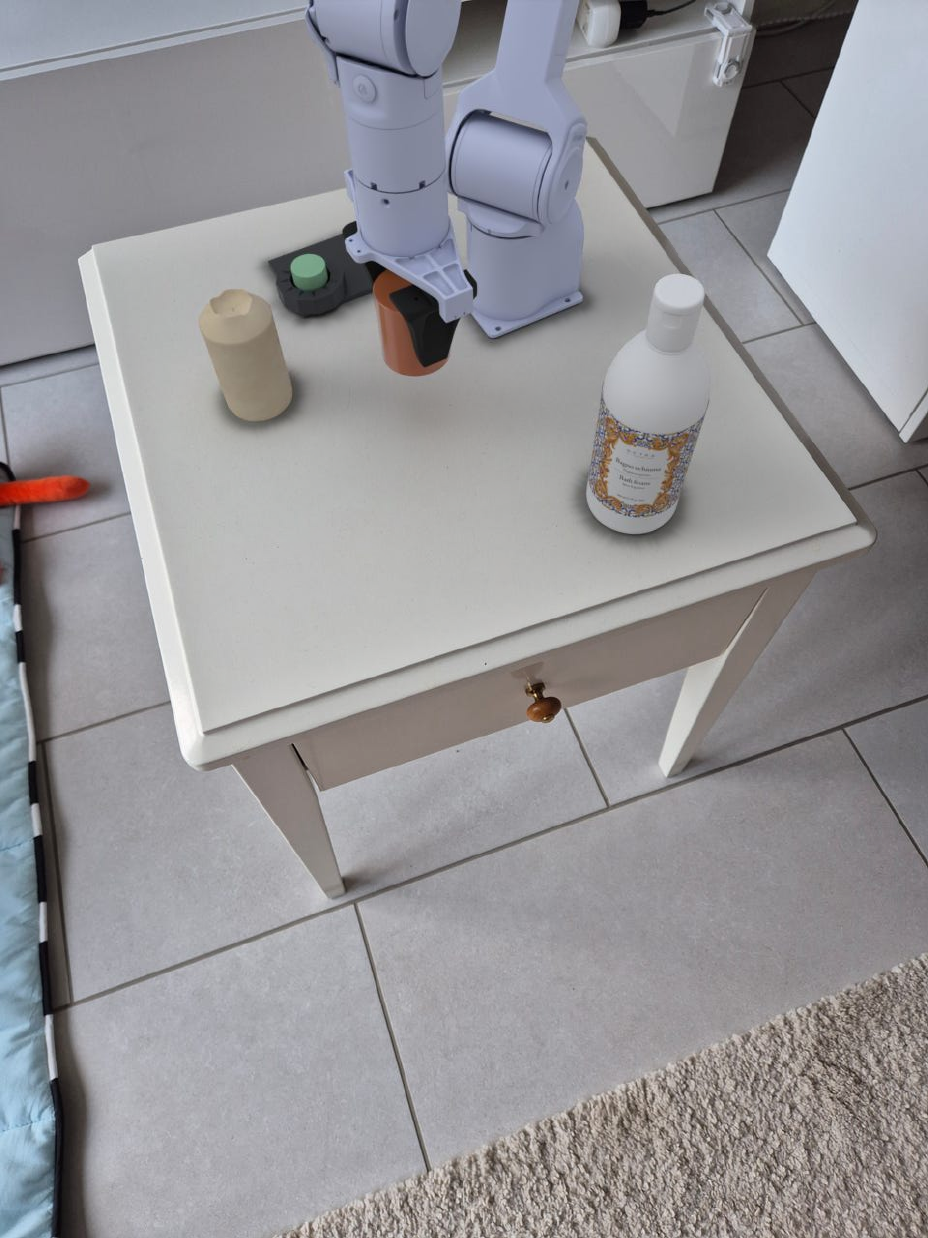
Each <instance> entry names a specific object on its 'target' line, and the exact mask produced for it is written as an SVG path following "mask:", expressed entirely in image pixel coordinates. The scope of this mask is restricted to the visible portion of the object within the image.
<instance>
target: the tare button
mask: <svg viewBox="0 0 928 1238" xmlns="http://www.w3.org/2000/svg"><path fill="white" fill-rule="evenodd" d="M291 273H292V277H293V281H294V284H295V286H296V287H297V288H298V289H300V290H302V291H314V290H316V289H319V288H322V287H323V286H324V285H325V284H326V283H327V280H328V277H327V271H326V266H325V262H324V260H323V259H322V258H321V257H320V256H318V255H314V254H305V255H301V256H299V257H297V258H295V259H294V260H293V262H292V263H291Z"/></svg>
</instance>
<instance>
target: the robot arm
mask: <svg viewBox="0 0 928 1238" xmlns="http://www.w3.org/2000/svg"><path fill="white" fill-rule="evenodd" d="M580 1H581V0H507V3H506V8H505V13H504V17H503V24H502V28H501V35H500V39H499V45H498V49H497V54H496V60H495V65H494V68H493V69H492V70H491V71H489V72H487V73H485V74H484V75H482V76H480V77H479V78H477V79H476V80H474V81H472V82H470V83H469V84H468V85H466V86H465V87H464V88H463V89H461V90H460V91H459V96H458V98H457V100H456V101H457V102H456V106H455V109H454V113H453V117H452V120H451V123H450V126H449V127H448V130H447V132H446V130H445V110H444V108H445V106H444V85H443V82H444V81H443V63H444V62H445V60H446V58H447V55H448V54H449V52H450V51H451V50H452V48H453V45H454V42H455V39H456V35H457V31H458V26H459V21H460V15H461V10H462V2H463V0H307V5H306V8H305V10H304V13H303V14H304V21H305V24H306V27H307V31H308V33H309V36H310V38H311V39H312V41H313V43H314V45H315V46H316V47H317V48H318V49H320V51H321V52H322V53H323V55H324V57H325V61H326V66H327V73H328V79H329V80H330V81H332V83H333V84H334V85H336V87H337V88H339V89H340V95H341V102H342V103H341V104H342V108H343V110H342V111H343V115H344V116H343V117H344V122H345V129H346V137H347V144H348V151H349V158H350V164H351V168H349V169H345V170H344V171H343V176H344V183H345V189H346V190H345V191H346V196H347V198H348V199H349V200H350V201H351V203H353V208H354V214H355V216H354V217H355V220H353V221H351V222H348V223H347V224H346V225H344V227H343V228H342V231H341V234H343V237H344V238H345V244H346V249H347V252H348V253H349V254H350V256H351V257H352V258H353V260H354V261H355V262H357V263H362V264H363V266H364V268H365V270H366V273H367V275H368V277H369V280H370V282H371V285H372V287H374V283H375V281H376V279H377V277H378V276H379V275H380V274H381V273H382V272H383V271H385V270H386V269H389V270H390V271H392V272H394V273H395V274H397V275H399V276H401V277H402V278H404V279H406V280H407V281H409V282H411V283H412V285H410V286H407V287H405V288H402V289H400V290H397V291H395V292H392V293H390V294H389V298H390V300H391V301H392V303H393V304H394V305H395V307H396V308H397V309H398V311H399V312H400V313H401V315H402V316H403V317H404V319H405V321H406V324H407V326H408V329H409V332H410V335H411V339H412V343H413V347H414V351H415V354H416V356H417V358H418V360H419V362H420V363H421V365H422V366H423V367H428V366H430V365H432V364H435V363H437V362H439V361H442V360H444V359H447V357H448V354H449V351H450V348H451V349H452V344H453V340H454V337H455V333H456V330H457V328H458V325H459V322H460V320H461V319H462V318H464V317H465V316H467V315H471V317H473V319H474V320H475V321H476V323H477V324H478V325H479V327H480V328H481V329H482V330H483V331H484V333H485V334H486V336H487V337H489V338H491V339H495V338H498V337H501V336H503V335H506V334H507V333H510V332H513V331H516V330H517V329H520V328H522V327H525V326H527V325H530V324H532V323H534V322H535V323H536V322H537V321H539V320H542V319H544V318H547V317H549V316H551V315H554V314H556V313H559V312H561V311H564V310H566V309H568V308H571V307H573V306H576V305H578V304H580V303H582V302H583V299H584V295H583V294H582V293H581V292H580V291H579V287H580V277H581V269H582V260H583V250H584V242H585V227H584V219H583V216H582V211H581V208H580V206H579V204H578V201H577V200H576V196H577V192H578V190H579V186H580V183H581V179H582V173H583V168H584V167H583V165H584V149H585V145H586V139H587V134H588V128H587V127H588V120H587V118H586V116H585V114H584V113H583V111H582V110H581V108H580V106H579V105H578V104H577V102H576V101H575V99H574V98H573V96H572V95H571V93H570V91H569V90H568V88H567V87H566V84H565V83H564V81H563V79H562V78H563V73H564V70H565V66H566V61H567V56H568V52H569V47H570V44H571V40H572V35H573V31H574V27H575V22H576V18H577V14H578V9H579V5H580ZM492 113H495V114H498V115H502V116H505V117H509V118H512V119H515V120H518V121H521V122H524V123H528V124H531V125H534V126H537V127H540V128H541V129H537V128H535V127H531V126H528V125H524V124H521V123H518V122H515V121H511V120H509V119H505V118H501V117H498V116H495V115H491V114H492ZM542 129H543V130H542ZM445 133H446V134H445ZM448 194H449V195H450V196H452V197H453V196H454V197H456V198H457V201H456V203H457V211H458V212H460V213H463V214H464V215H465V232H466V233H465V234H466V238H465V239H466V240H465V241H466V268H465V269H463V265H462V261H461V260H462V259H461V257H460V253H459V252H460V251H459V247H458V244H457V239H456V235H455V231H454V226H453V221H452V219H451V216H450V214H449V198H448Z"/></svg>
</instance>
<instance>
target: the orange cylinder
mask: <svg viewBox="0 0 928 1238" xmlns="http://www.w3.org/2000/svg"><path fill="white" fill-rule="evenodd" d="M410 285H412V283H411V282H409V281H407V280H406V279H404V278H402V277H401V276H399V275H397V274H395V273H394V272H392V271H390V270H389V269H386V270H385V271H383V272H382V273H381V274H380V275H379V276H378V277H377V279H376V281H375V283H374V287H373V292H372V293H373V301H374V307H375V314H376V315H375V316H376V321H377V323H376V324H377V329H378V336H379V343H380V351H381V357H382V360H383V362H384V363H385V365H386V366H387V367H388V368H389V369H390V370H391V371H393V372H395V373H396V374H399V375H401V376H406V377H413V378H414V377H417V378H418V377H422V376H423V377H424V376H428V375H432V374H434V373H436V372H438V371H439V370H440V369H442V368H443V367H444V366H445V365H446V364H447V363H448V361H449V359H450V357H451V353H452V347H451V348H450V351H449V354H448V357H447V359H444V360H442V361H439V362H437V363H435V364H432V365H430V366H428V367H423V366H422V365H421V363H420V362H419V360H418V358H417V356H416V354H415V351H414V347H413V343H412V339H411V335H410V332H409V329H408V326H407V324H406V321H405V319H404V317H403V316H402V315H401V313H400V312H399V311H398V309H397V308H396V307H395V305H394V304H393V303H392V301H391V300H390V298H389V294H390V293H392V292H395V291H397V290H400V289H402V288H405V287H407V286H410Z"/></svg>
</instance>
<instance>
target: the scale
mask: <svg viewBox="0 0 928 1238" xmlns="http://www.w3.org/2000/svg"><path fill="white" fill-rule="evenodd" d="M305 254H314V255H318V256H320V257H321V258H322V259H323V260H324V262H325V266H326V271H327V277H328V280H327V283H326V284H325V285H324V286H323V287H322V288H319V289H316V290H314V291H302V290H300V289H298V288H297V287H296V286H295V284H294V281H293V277H292V273H291V263H292V262H293V260H294V259H295V258H297V257H299V256H301V255H305ZM267 263H268V267H269V269H270V270H271V271H272V273H273V274H274V276H275V277H276V280H275V286H276V289H277V294H278V298H279V299H280V301H281V302H282V304H283V306H284V307H285V309H288V310H290V311H292V312H295V313H297V314H299V315H300V316H301V318H302V319H308V318H309V317H312V316H314V315H321V314H323V313H326V312H329V311H331V310H333V309H335V308H337V307H339V306H340V305H343V304H345V303H348V302H351V301H353V300H356V299H358V298H361V297H364V296H366V295H369V294H371V293H373V287H372V285H371V282H370V280H369V277H368V275H367V273H366V270H365V268H364V266H363V264H362V263H357V262H355V261H354V260H353V258H352V257H351V256H350V254H349V253H348V252H347V249H346V244H345V238H344V237H343V234H342V233H339V234H338V235H335V236H332V237H330V238H326V239H324V240H321V241H318V242H316V243H315V242H314V243H313V244H310V245H307V246H305V247H302V248H299V249H297V250H294V251H291V252H289V253H285V254H283V255H280V256H277V257H275V258H272V259H270V260H268V261H267Z"/></svg>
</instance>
